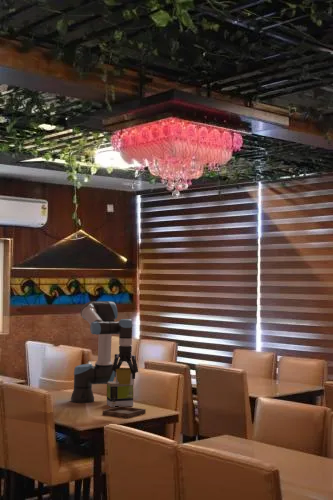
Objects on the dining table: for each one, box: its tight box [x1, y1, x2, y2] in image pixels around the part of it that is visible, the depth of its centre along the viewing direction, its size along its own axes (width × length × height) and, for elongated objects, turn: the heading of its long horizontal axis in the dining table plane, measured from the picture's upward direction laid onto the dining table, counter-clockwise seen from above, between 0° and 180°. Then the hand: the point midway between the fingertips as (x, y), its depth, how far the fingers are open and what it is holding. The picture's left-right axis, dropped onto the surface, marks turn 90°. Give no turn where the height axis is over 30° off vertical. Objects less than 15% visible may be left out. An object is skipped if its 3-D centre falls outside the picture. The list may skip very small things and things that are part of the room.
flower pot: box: [116, 367, 132, 385], centre depth 392 cm, size 9×9×9 cm
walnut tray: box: [102, 406, 147, 419], centre depth 391 cm, size 18×18×2 cm
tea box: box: [106, 380, 134, 408], centre depth 420 cm, size 15×10×15 cm, turn 108°
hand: (124, 383), depth 392 cm, fingers closed on flower pot, 10 cm apart
